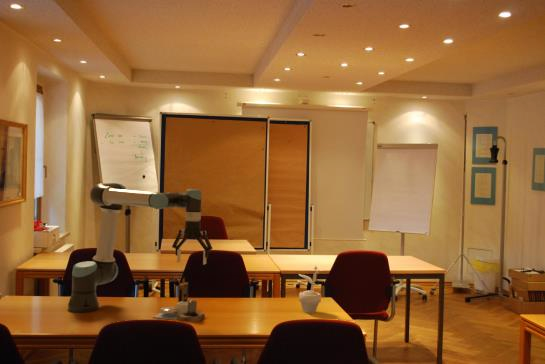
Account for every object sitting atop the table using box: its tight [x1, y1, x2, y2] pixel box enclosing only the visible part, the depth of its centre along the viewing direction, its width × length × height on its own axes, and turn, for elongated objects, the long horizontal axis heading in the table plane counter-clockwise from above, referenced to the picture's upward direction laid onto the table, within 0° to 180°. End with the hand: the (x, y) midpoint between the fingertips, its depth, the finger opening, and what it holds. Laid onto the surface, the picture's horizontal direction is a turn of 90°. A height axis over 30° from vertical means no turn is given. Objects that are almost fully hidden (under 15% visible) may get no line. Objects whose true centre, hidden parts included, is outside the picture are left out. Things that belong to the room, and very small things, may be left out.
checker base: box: [152, 312, 179, 321], centre depth 277 cm, size 12×12×1 cm
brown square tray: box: [177, 311, 205, 323], centre depth 273 cm, size 10×10×2 cm
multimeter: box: [177, 270, 189, 303], centre depth 292 cm, size 15×10×20 cm
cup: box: [175, 301, 188, 315], centre depth 279 cm, size 6×6×6 cm
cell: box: [187, 299, 198, 317], centre depth 273 cm, size 4×4×9 cm
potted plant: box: [298, 266, 322, 314], centre depth 295 cm, size 13×12×25 cm
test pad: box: [159, 306, 179, 314], centre depth 277 cm, size 9×9×2 cm
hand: (191, 263), depth 276 cm, fingers open, 13 cm apart
